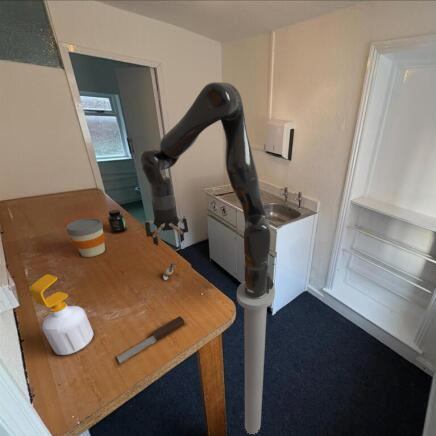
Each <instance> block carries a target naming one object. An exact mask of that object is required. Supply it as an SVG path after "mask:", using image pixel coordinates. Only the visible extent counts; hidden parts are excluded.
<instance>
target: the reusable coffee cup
mask: <svg viewBox="0 0 436 436" xmlns="http://www.w3.org/2000/svg"><path fill="white" fill-rule="evenodd" d="M103 228H104V225H103V223H102V220H101V219H99V218H96V217H95V218H93V217H92V218H82V219H78V220H74V221H72V222H71V223H68V224H67V226H66V231H67V232H66V233H67V235H68V236H70V240H71V242H72V244H73V246H74V247H75V248H76V249H77V250H78V251H79V254H80V255H81V256H82V257H84V258H92V257H96V256H98V255H101V254H103V253H104V252H105V251H106V245H105V242H106V236H105V230H104V229H103Z"/></svg>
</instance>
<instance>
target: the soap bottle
mask: <svg viewBox="0 0 436 436" xmlns="http://www.w3.org/2000/svg"><path fill="white" fill-rule="evenodd" d="M57 280H58V277H57V276H55V275H53V274H49V273H46V274H44V275H43V276H42V277H40V278H39V279H38V280H37V281H36V282H34V283H33V284H32V285H30V287H29V292H30V294H31V296H32V298H33V301H34V302H35V303H36V304H38V305H41V306H44V307H46V308H49V311H50V313H51V314H49V315H48V316H47V317H46V318H45V319H44V321H43V322H42V331H43V334H44V336H45V337H46V339H47V341H48V343H49V344H50V346H51V348H52V351H54V353H55V354H56V355H60V356H67V355H71V354H74V353H77V352H79V351H81V350H82V349H83V348H85V347H87V345H89V344H90V343H91V341H92V340H93V337H94V330H93V328H92V326H91V323H90V321H89V318H88V315H87V313H86V311H85V309H83V308H82V307H81V306H79V305H68V304H67V303H66V302H65V301H64V300H66V299H67V298H68V297H69V294H68V293H65V292H63V291H56V292H55V293H53V294H51V295H49V296H48V297H46V298H45V296H44V292H45V291H46V289H48V288H49V287H50V286H52V285H53V284H54V283H55V282H56V281H57Z"/></svg>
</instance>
